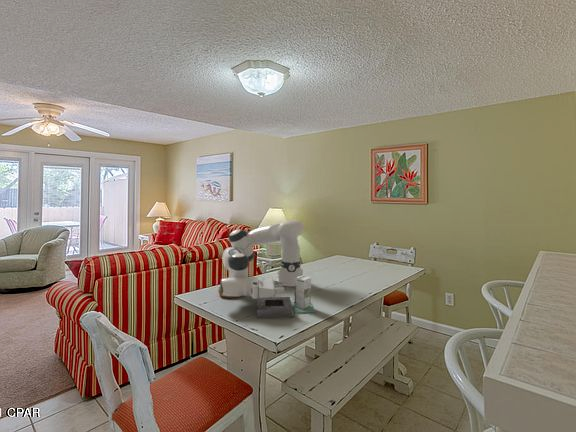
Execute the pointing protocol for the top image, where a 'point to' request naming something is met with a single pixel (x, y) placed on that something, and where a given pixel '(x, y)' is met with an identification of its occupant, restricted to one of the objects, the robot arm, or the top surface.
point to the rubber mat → (306, 310)
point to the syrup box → (302, 292)
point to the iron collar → (274, 307)
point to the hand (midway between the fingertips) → (283, 286)
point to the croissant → (226, 296)
